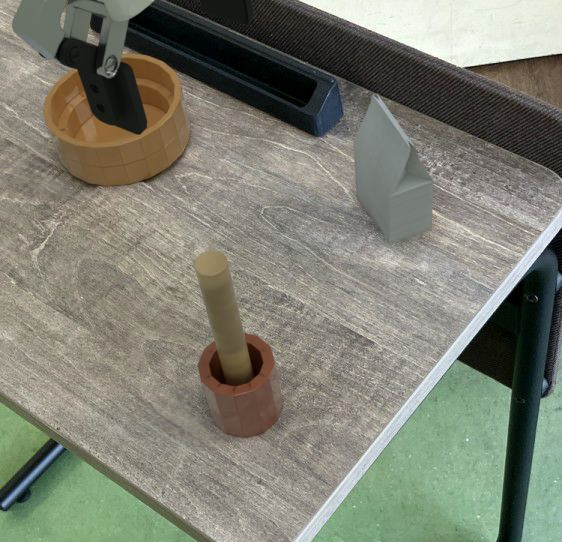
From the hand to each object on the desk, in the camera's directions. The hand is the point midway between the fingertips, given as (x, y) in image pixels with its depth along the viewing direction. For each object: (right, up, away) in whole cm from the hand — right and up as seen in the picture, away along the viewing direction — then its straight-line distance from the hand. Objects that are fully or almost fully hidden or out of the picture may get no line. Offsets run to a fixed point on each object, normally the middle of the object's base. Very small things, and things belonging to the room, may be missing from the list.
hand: (177, 67), depth 51 cm
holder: (+3, -19, +19) cm, 27 cm away
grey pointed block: (+15, -3, +28) cm, 32 cm away
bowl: (-9, +5, +36) cm, 38 cm away
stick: (+3, -19, +18) cm, 26 cm away
